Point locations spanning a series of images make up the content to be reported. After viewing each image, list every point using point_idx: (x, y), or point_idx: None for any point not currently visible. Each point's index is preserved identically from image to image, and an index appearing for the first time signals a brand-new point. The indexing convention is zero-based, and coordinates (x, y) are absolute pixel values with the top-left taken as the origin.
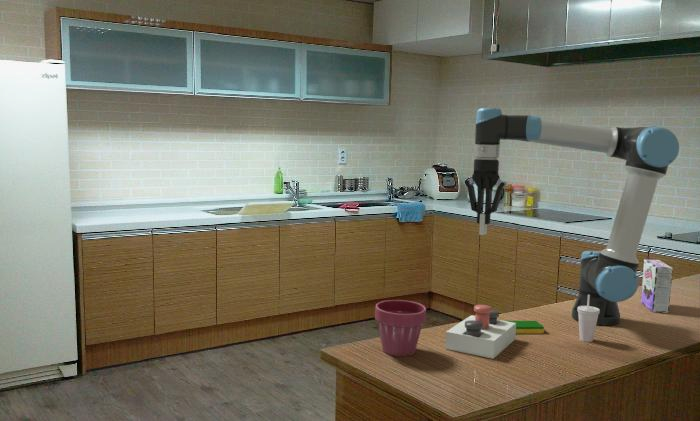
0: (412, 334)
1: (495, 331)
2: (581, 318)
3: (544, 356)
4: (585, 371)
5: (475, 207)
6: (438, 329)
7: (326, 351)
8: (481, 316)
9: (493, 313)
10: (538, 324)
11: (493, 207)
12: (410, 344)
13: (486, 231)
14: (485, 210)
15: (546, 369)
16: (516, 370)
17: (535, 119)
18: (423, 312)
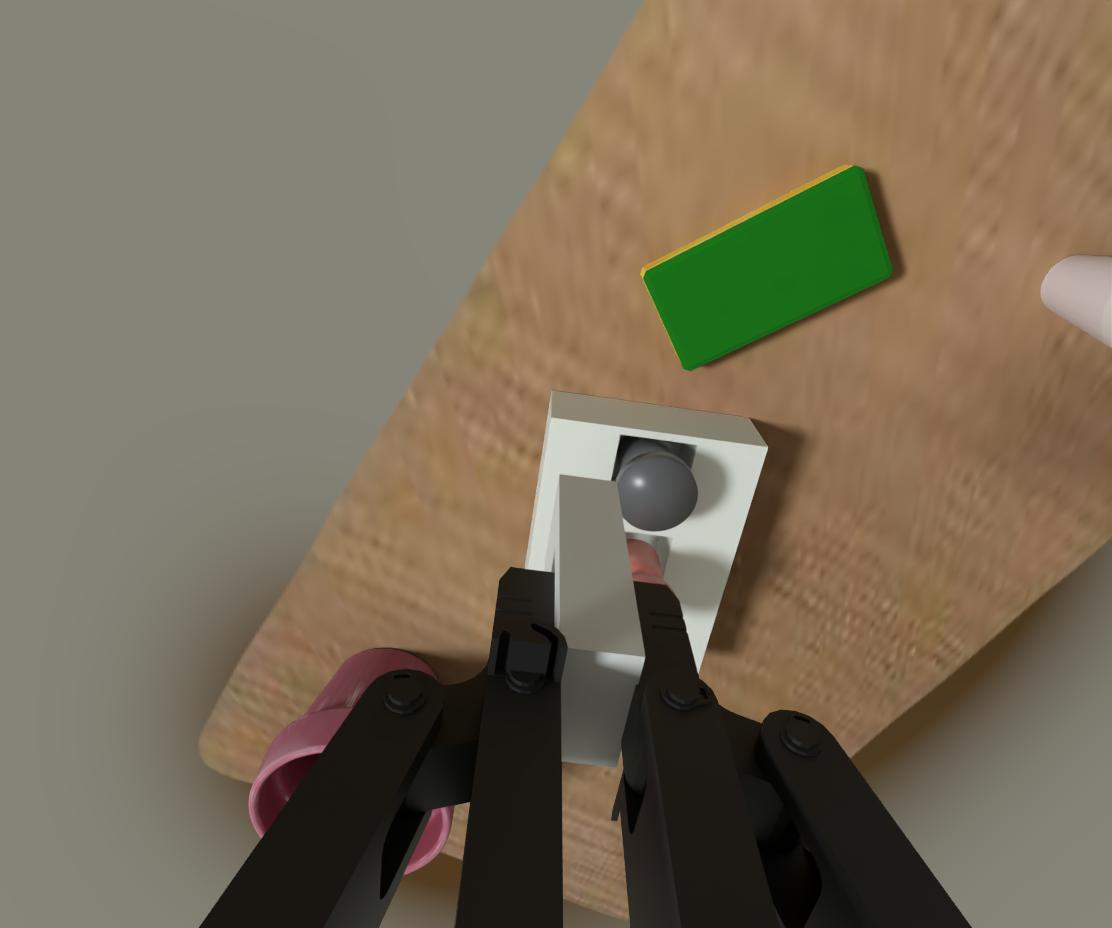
0: None
1: (689, 590)
2: (1110, 346)
3: (855, 554)
4: (973, 626)
5: (425, 809)
6: (420, 429)
7: (207, 764)
8: None
9: (674, 519)
10: (868, 241)
11: (791, 896)
12: None
13: (617, 503)
14: (631, 817)
15: (851, 655)
16: (760, 693)
17: None
18: (450, 827)
